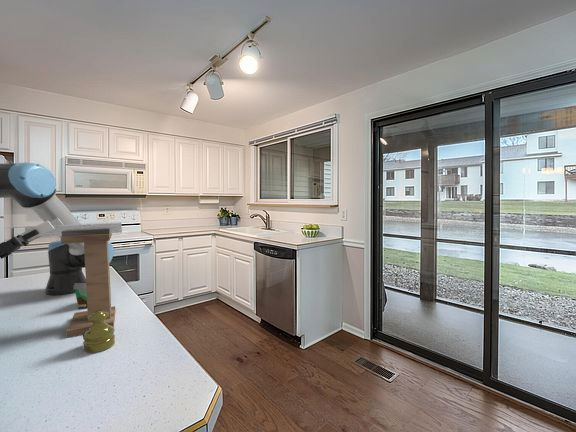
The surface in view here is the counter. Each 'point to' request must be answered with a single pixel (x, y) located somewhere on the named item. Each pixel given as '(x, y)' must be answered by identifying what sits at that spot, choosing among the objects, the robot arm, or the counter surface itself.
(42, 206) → the robot arm
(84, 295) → the food container
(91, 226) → the steel bar
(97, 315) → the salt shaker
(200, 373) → the counter surface
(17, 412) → the counter surface
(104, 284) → the walnut shelf
